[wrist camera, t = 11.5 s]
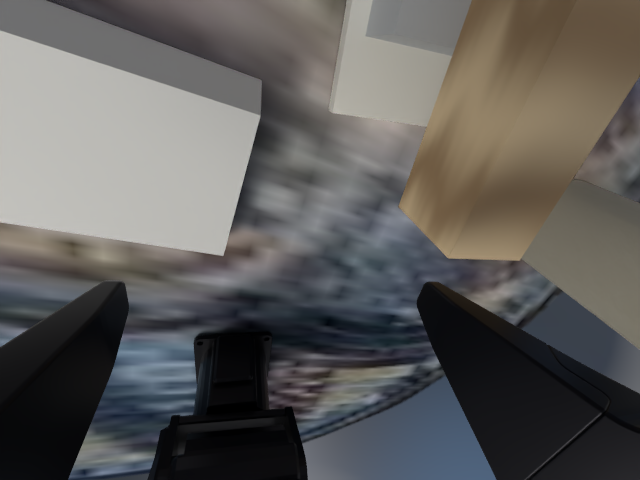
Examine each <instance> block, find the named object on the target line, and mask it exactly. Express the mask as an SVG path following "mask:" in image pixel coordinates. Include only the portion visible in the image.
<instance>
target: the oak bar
mask: <svg viewBox="0 0 640 480" xmlns="http://www.w3.org/2000/svg"><path fill="white" fill-rule="evenodd" d="M639 76H640V0H472V1H471V4H470V7H469V10H468V13H467V15H466V18H465V21H464V24H463V27H462V30H461V32H460V35H459V38H458V41H457V44H456V46H455V49H454V52H453V55H452V58H451V60H450V63H449V66H448V69H447V72H446V75H445V77H444V80H443V83H442V86H441V89H440V91H439V94H438V97H437V100H436V103H435V105H434V108H433V111H432V114H431V117H430V120H429V122H428V125H427V128H426V131H425V134H424V136H423V139H422V142H421V145H420V148H419V150H418V153H417V156H416V159H415V162H414V165H413V167H412V170H411V173H410V176H409V179H408V181H407V184H406V187H405V190H404V193H403V195H402V198H401V201H400V204H399V208H400V209H401V210H402V211H403V212H404V213H405V214H406V215H407V216H408V217H409V218H410V219H411V220H412V221H413V222H414V223H415V224H416V226H417V227H418V228H419V229H420V230H421V231H422V232H423V233H424V234H425V235H426V236H427V237H428V238H429V239H430V240H431V241H432V242H433V243H434V244H435V245H436V246H437V247H438V248H439V249H440V250H441V251H442V252H443V253H444V255H445V256H446V257H447V258H454V259H485V260H515V261H520V259H521V258H522V256H523V255H524V253H525V252H526V250H527V248H528V247H529V245H530V244H531V242H532V241H533V239H534V238H535V236H536V235H537V233H538V232H539V230H540V228H541V227H542V225H543V224H544V222H545V221H546V219H547V218H548V216H549V215H550V213H551V212H552V210H553V209H554V207H555V205H556V204H557V202H558V201H559V199H560V198H561V196H562V195H563V193H564V192H565V190H566V189H567V187H568V185H569V184H570V182H571V181H572V179H573V178H574V176H575V175H576V173H577V172H578V170H579V169H580V167H581V166H582V164H583V162H584V161H585V159H586V158H587V156H588V155H589V153H590V152H591V150H592V149H593V147H594V146H595V144H596V142H597V141H598V139H599V138H600V136H601V135H602V133H603V132H604V130H605V129H606V127H607V126H608V124H609V123H610V121H611V119H612V118H613V116H614V115H615V113H616V112H617V110H618V109H619V107H620V106H621V104H622V103H623V101H624V99H625V98H626V96H627V95H628V93H629V92H630V90H631V89H632V87H633V86H634V84H635V83H636V81H637V79H638V78H639Z"/></svg>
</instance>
